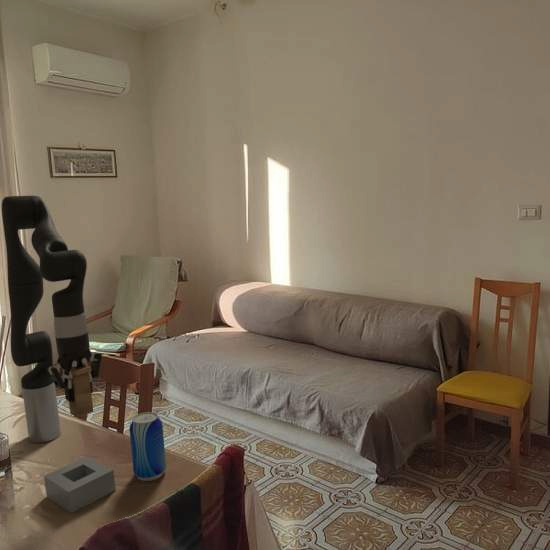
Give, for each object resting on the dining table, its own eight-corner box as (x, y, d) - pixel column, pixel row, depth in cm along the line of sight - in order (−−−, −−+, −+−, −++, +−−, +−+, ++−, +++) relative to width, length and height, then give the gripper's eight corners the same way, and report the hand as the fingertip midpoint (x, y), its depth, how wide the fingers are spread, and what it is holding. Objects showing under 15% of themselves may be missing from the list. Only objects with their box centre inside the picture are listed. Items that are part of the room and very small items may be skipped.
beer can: (158, 483, 137) (153, 425, 134) (128, 481, 138) (122, 423, 136) (171, 466, 145) (166, 411, 142) (142, 464, 146) (137, 409, 144)
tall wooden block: (67, 412, 134) (61, 366, 133) (81, 407, 138) (76, 362, 136) (82, 418, 130) (76, 371, 128) (96, 413, 133) (91, 366, 131)
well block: (46, 496, 134) (43, 475, 133) (90, 475, 143) (87, 456, 142) (71, 513, 126) (68, 492, 125) (115, 490, 135) (113, 469, 134)
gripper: (89, 323, 138) (96, 387, 141) (35, 337, 128) (45, 405, 130) (105, 327, 134) (113, 392, 136) (51, 341, 123) (61, 412, 125)
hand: (79, 398), depth 133 cm, fingers closed on tall wooden block, 4 cm apart
